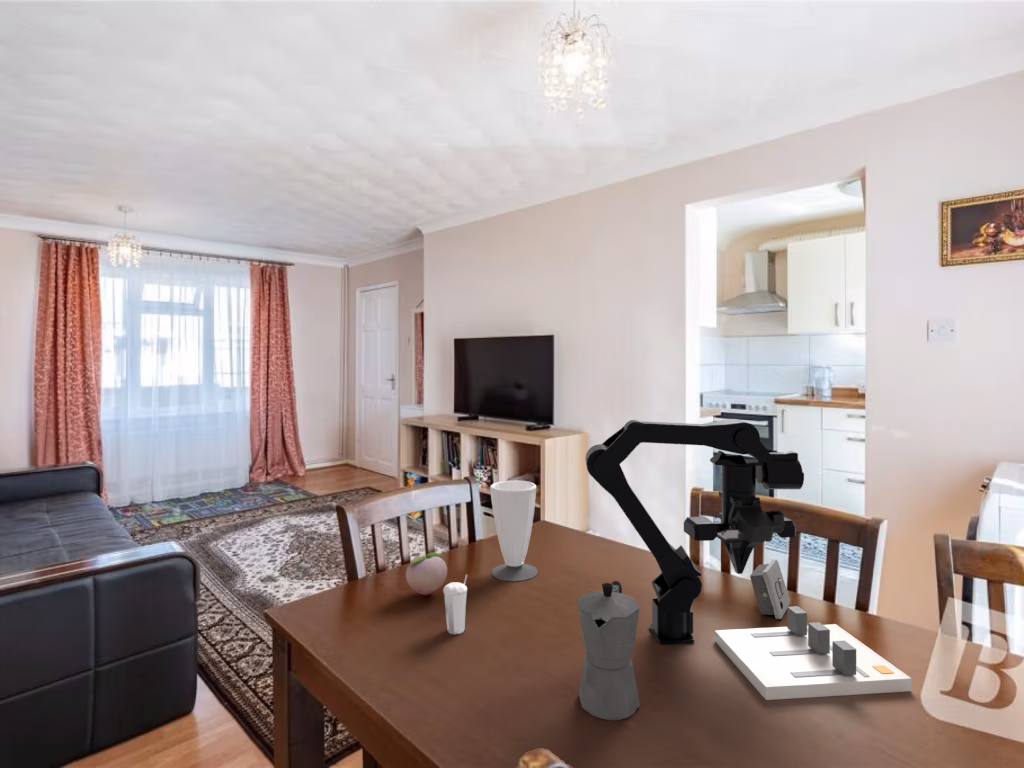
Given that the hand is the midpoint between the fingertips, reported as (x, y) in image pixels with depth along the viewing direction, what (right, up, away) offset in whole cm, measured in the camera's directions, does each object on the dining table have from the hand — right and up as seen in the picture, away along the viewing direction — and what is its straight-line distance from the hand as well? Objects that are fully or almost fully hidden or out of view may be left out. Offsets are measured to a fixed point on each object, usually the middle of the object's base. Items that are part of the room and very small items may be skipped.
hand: (738, 573), depth 97 cm
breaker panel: (+7, -12, -9) cm, 17 cm away
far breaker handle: (+9, -10, -3) cm, 14 cm away
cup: (-41, -12, +33) cm, 54 cm away
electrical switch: (+11, -12, +11) cm, 20 cm away
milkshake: (-52, -13, +5) cm, 54 cm away
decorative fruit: (-60, -13, +20) cm, 65 cm away
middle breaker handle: (+10, -10, -8) cm, 16 cm away
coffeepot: (-27, -13, -16) cm, 34 cm away
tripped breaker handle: (+10, -10, -14) cm, 20 cm away
